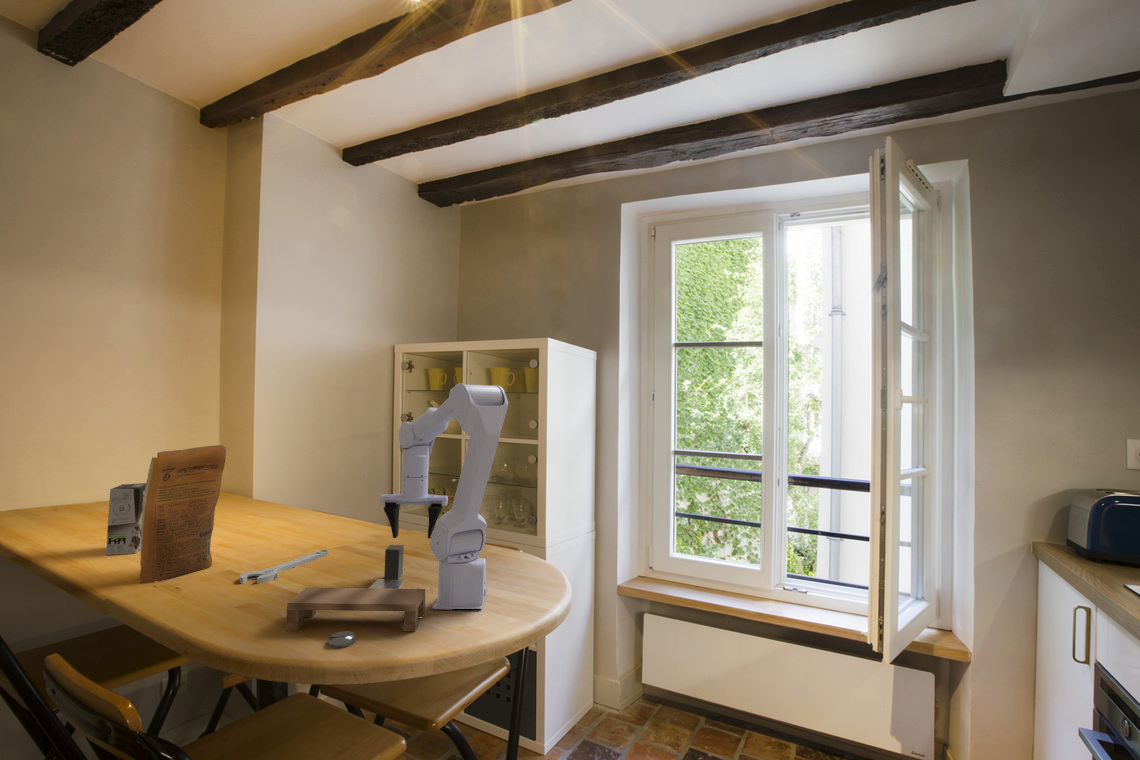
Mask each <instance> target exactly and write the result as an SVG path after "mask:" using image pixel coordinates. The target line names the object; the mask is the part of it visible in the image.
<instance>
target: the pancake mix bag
mask: <svg viewBox="0 0 1140 760" xmlns="http://www.w3.org/2000/svg"><path fill="white" fill-rule="evenodd" d="M226 457H227V446H225V445H222V444H221V445H220V444H219V445H218V444H217V445H216V444H215V445H207V446H198V447H192V448H186V449H185V448H184V449H175V450H164V451H163V450H162V451H158V452H157V457H155V456H154V457H151V460H150V464H149V469H148V473H147V479H146V482H145V483H146V487H145V492H144V498H143V511H142V525H141V550H140V559H139V560H140V571H139V572H140V573H139V577H138V581H137V583H138V584H146V583H145V582H151V583H156V582H155V581H159V582H163V581H162V580H164V581H167V579H168V580H171V579H173V578H176V577H181V576H184V575H187V574H190V573H191V574H192V573H193V572H194V573H195V572H197V571H201V570H205V569H209V568H211V567H212V564H213V559H212V554H211V553H212V552H211V540H212V536H213V531H214V527H215V525H214V524H215V512H216V506H217V505H218V504H217V503H218V500H219V498H220V494H221V487H222V486H221V485H222V480H223V473H224V470H225V466H226V465H225V464H226V459H227V458H226Z"/></svg>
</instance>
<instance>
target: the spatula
mask: <svg viewBox="0 0 1140 760" xmlns="http://www.w3.org/2000/svg"><path fill="white" fill-rule="evenodd" d="M404 548H405V547H404V544H403V545H402V544H389V546H388V547H386V549H385V550H384V577H383V578H377V579H376V580H375V581H374V582H373V583H372V584H371V585H370V587H369V588H383V589H399V587H400V586H401V585H402V583H403V582H404V580H405V581H406V578H405V579H402V578H401V579H399V578H400V577H401V575H402V574H404V573H403V572H404V571H403V569H404ZM402 576H403V575H402ZM402 586H403V585H402Z"/></svg>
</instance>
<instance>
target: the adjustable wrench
mask: <svg viewBox="0 0 1140 760" xmlns="http://www.w3.org/2000/svg"><path fill="white" fill-rule="evenodd" d="M329 552H330V551H329V550H328V549H319V550H316V551H314V552H311V553H308V554H306V555H303V556H300V557H297V558H294V559H292V560H289V561H286V562H284V563H280V564H278V565H275V566H272V567H267V568H264V569H258V570H252V571H247V572H244V573H242V574H240V575H239V582H240V583H241V585H244V584H245V583H247V582H248V581H251V580H252V581H253V579H254V580H256V585H258V584H259V585H261V584H264V582H265V583H269V582H271V581H270V580H272V581H274V580H276V579H275V578H277V579H279V578H280V574H281V573H280V572H282V573H284V572H283V571H285V570H288V569H290V570H292V569H291V568H293V567H296V566H298V567H300V566H299V565H301V566H303V565H302V564H304V565H306V564H308V562H309V563H311V561H312V562H314V561H317V560H319V559H318V558H320V559H322V558H324V556H325V557H327V556H326V555H328V556H329ZM321 557H322V558H321ZM316 559H317V560H316ZM313 560H314V561H313ZM305 563H306V564H305ZM296 568H297V567H296ZM293 569H294V568H293ZM288 571H289V570H288ZM285 572H286V571H285ZM278 573H280V574H278ZM273 579H274V580H273ZM268 581H269V582H268ZM240 583H239V584H240ZM260 583H261V584H260Z"/></svg>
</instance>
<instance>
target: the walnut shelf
mask: <svg viewBox="0 0 1140 760" xmlns="http://www.w3.org/2000/svg"><path fill="white" fill-rule="evenodd" d="M425 609H426V588H400V589H383V588H370V587H368V588H367V587H364V588H363V587H362V588H361V587H309V586H308V587H305V588H304V589H303V590H301V591H300V592H299V593H297V594H296V595H295V596H293V598H291V599H290V600H289V601H288V602H287V603H286V616H285V617H286V618H285V619H286V620H285V631H287V632H288V631H290V632H291V631H292V632H294V631H297V632H298V631H299V630H300V629H301V628H303V623H304V618H313V617H314V616H315V615H316V614H317V611H341V612H342V611H343V612H344V611H346V612H347V611H349V612H350V611H353V612H403V629H402V630H403V632H404V631H415V630H417V629H418V627H417V626H419V625H418V624H419V623H418V622H419V618H418V617H424V616H425V614H424V613H425ZM423 615H424V616H423ZM416 628H417V629H416ZM415 632H416V631H415ZM404 633H405V632H404Z"/></svg>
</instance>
